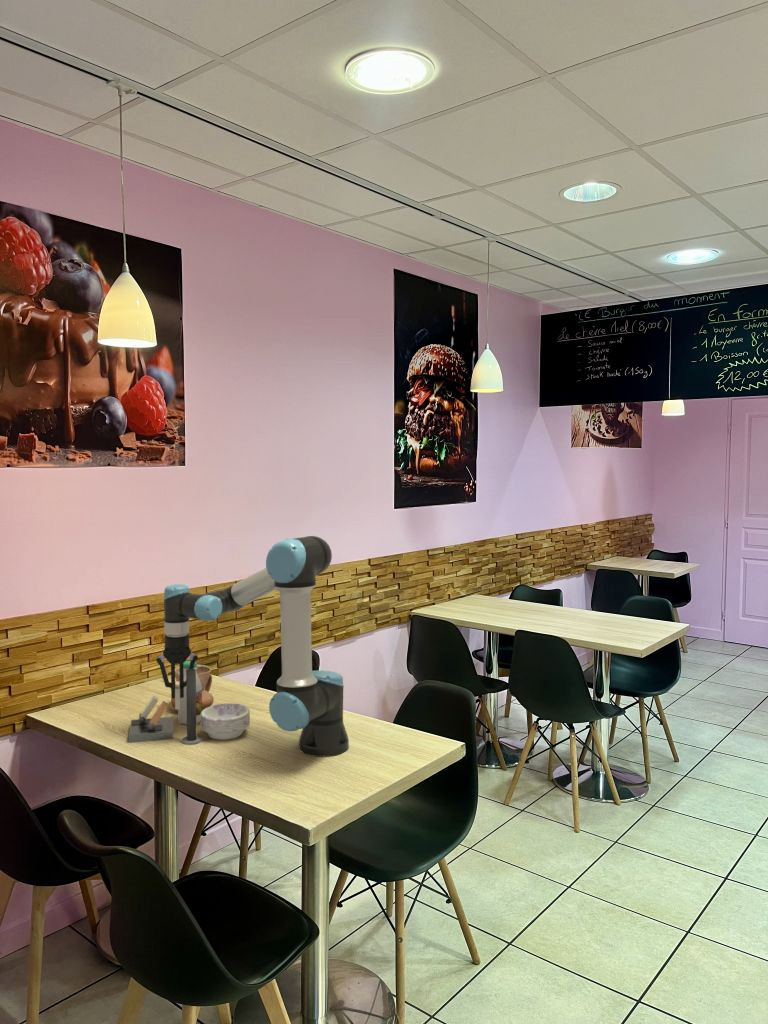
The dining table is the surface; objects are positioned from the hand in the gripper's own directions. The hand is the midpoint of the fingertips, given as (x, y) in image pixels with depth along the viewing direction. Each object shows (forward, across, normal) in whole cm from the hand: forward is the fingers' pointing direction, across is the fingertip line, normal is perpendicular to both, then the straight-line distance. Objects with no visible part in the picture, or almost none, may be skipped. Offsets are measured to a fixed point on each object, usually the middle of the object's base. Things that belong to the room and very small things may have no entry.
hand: (177, 707), depth 240 cm
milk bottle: (+9, -4, -11) cm, 15 cm away
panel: (+8, +8, -3) cm, 12 cm away
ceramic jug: (+9, -6, -24) cm, 27 cm away
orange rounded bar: (+5, +8, 0) cm, 9 cm away
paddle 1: (+5, +11, -7) cm, 14 cm away
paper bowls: (+9, -14, +4) cm, 18 cm away
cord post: (+8, -4, +8) cm, 12 cm away
